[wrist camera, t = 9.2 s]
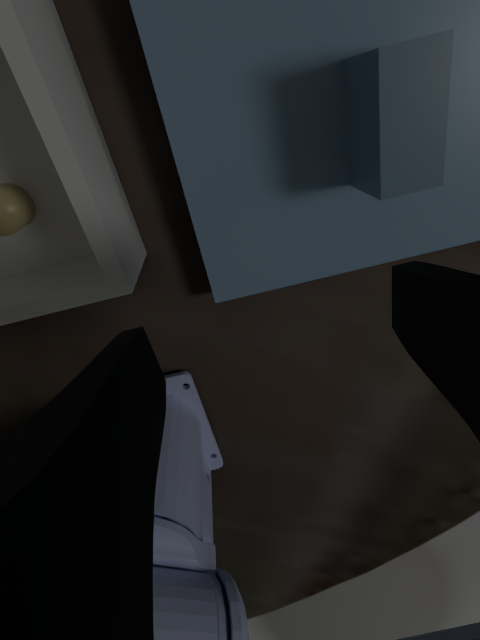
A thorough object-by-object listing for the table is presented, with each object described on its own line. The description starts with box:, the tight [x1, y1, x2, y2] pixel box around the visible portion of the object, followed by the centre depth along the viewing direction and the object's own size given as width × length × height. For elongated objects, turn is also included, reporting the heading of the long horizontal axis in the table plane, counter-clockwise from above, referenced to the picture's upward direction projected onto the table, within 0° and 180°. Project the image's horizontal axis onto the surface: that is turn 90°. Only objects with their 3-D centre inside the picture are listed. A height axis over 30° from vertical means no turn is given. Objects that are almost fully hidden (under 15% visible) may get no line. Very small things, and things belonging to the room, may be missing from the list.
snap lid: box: [129, 0, 480, 303], centre depth 16 cm, size 14×18×6 cm
